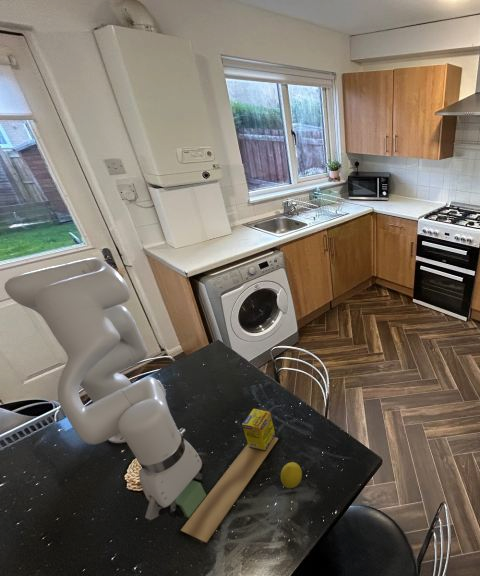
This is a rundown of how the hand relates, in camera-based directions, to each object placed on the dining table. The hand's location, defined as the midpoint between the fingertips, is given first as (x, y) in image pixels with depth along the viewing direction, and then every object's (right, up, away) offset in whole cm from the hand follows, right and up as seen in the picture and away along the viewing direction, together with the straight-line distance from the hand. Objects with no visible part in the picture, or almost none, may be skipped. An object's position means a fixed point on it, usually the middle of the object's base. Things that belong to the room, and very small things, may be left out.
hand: (188, 501), depth 72 cm
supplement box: (+7, +1, +26) cm, 27 cm away
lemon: (+20, -5, +15) cm, 25 cm away
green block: (0, -1, 0) cm, 1 cm away
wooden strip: (+4, -4, +16) cm, 17 cm away
